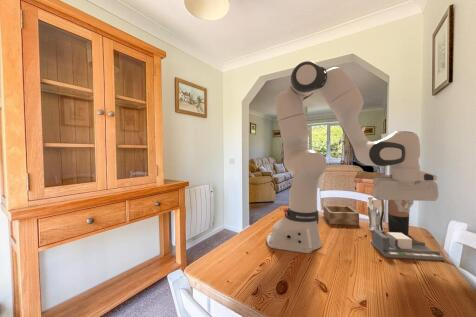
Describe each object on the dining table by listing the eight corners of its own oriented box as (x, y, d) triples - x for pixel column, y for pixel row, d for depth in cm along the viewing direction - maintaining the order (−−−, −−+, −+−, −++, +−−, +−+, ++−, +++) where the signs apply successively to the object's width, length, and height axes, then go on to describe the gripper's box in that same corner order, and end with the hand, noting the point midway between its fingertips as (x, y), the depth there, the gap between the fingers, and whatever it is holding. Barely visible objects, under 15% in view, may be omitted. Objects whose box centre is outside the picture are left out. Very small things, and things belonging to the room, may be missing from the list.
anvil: (383, 251, 74) (383, 238, 74) (372, 241, 82) (372, 229, 81) (389, 251, 73) (389, 238, 73) (377, 242, 81) (377, 229, 81)
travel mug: (413, 236, 88) (413, 191, 88) (393, 235, 90) (393, 191, 89) (402, 230, 96) (402, 188, 95) (384, 229, 97) (384, 188, 97)
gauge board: (385, 257, 72) (385, 250, 72) (370, 243, 83) (370, 237, 83) (443, 260, 69) (443, 254, 69) (420, 245, 80) (420, 240, 80)
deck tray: (330, 223, 106) (330, 212, 106) (323, 215, 120) (323, 205, 120) (359, 224, 104) (359, 213, 103) (348, 216, 117) (348, 205, 117)
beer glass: (385, 233, 92) (385, 201, 92) (367, 230, 96) (367, 199, 95) (384, 228, 98) (384, 197, 98) (366, 226, 102) (366, 196, 101)
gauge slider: (399, 253, 72) (399, 241, 71) (386, 243, 80) (386, 232, 80) (416, 254, 71) (416, 242, 71) (401, 243, 79) (401, 232, 79)
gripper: (377, 175, 74) (377, 213, 74) (442, 176, 71) (441, 215, 71) (369, 174, 80) (369, 208, 81) (428, 174, 77) (427, 210, 77)
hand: (403, 211), depth 76 cm, fingers closed
